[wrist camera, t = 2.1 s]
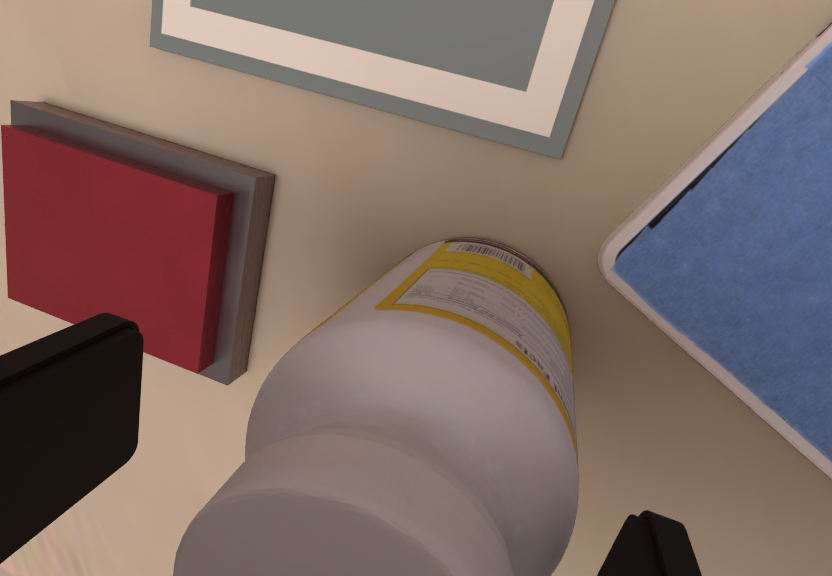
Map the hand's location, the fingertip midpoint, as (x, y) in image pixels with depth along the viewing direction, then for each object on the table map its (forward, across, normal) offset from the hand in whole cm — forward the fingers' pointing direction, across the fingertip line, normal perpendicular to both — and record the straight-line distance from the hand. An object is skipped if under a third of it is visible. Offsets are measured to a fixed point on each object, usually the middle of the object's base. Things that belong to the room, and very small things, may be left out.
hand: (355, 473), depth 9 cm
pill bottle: (+9, -1, 0) cm, 9 cm away
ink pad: (+9, +12, +1) cm, 15 cm away
